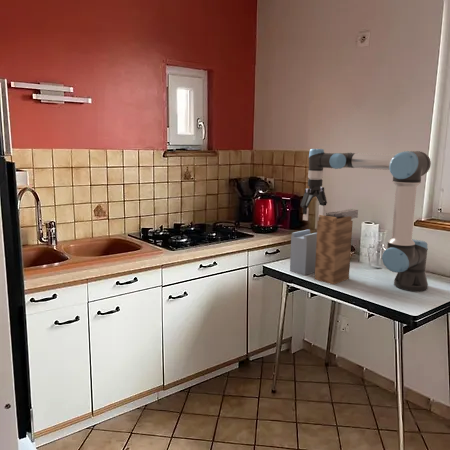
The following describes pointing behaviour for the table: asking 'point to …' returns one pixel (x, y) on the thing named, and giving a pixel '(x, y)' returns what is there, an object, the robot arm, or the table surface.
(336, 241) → the stand
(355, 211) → the grey bar
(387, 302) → the table surface
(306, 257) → the block
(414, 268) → the robot arm
